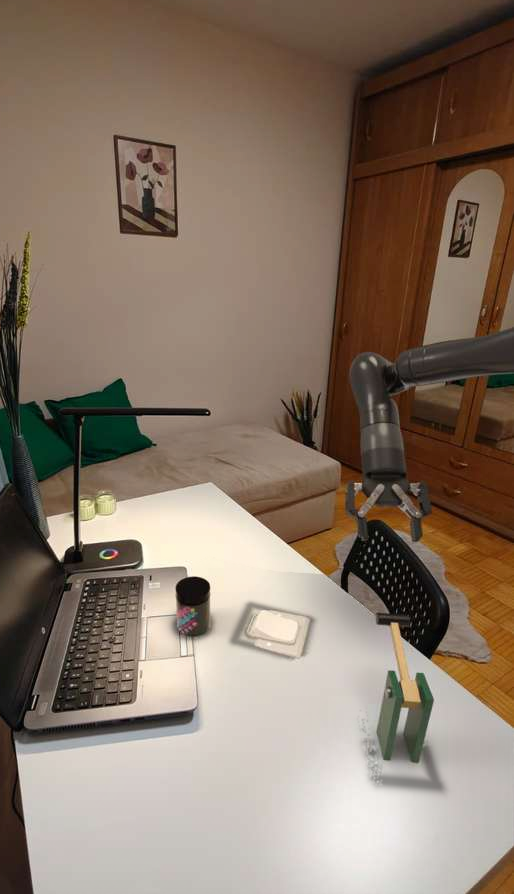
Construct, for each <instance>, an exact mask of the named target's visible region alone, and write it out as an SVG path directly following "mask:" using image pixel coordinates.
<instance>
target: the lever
mask: <svg viewBox="0 0 514 894" xmlns="http://www.w3.org/2000/svg"><path fill="white" fill-rule="evenodd" d="M375 623H376V625H377V626H389V630H390V634H391V635H390V636H391V639H392V645H393V650H394V654H395V659H396V664H397V665H396V666H397V670H398V675H399V680H398V682H399V685H400V688H401V691H402V694H403V697H404V698H403V702H402V707H401V708H402V709H403V708H404V709H405V708H406V709H409V708H417V707H418V705H419V704H420V703H421V700H420V696H419V691H418V687H417V683H416V681H415V680H412V679H411V677H410V673H409V667H408V663H407V659H406V654H405V648H404V645H403V644H404V643H403V639H402V634H401V631H400V627H402V628H403V627H404V628H411V624H412V621H411V616H410V615H409V614H403V613H387V612H376V613H375Z"/></svg>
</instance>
